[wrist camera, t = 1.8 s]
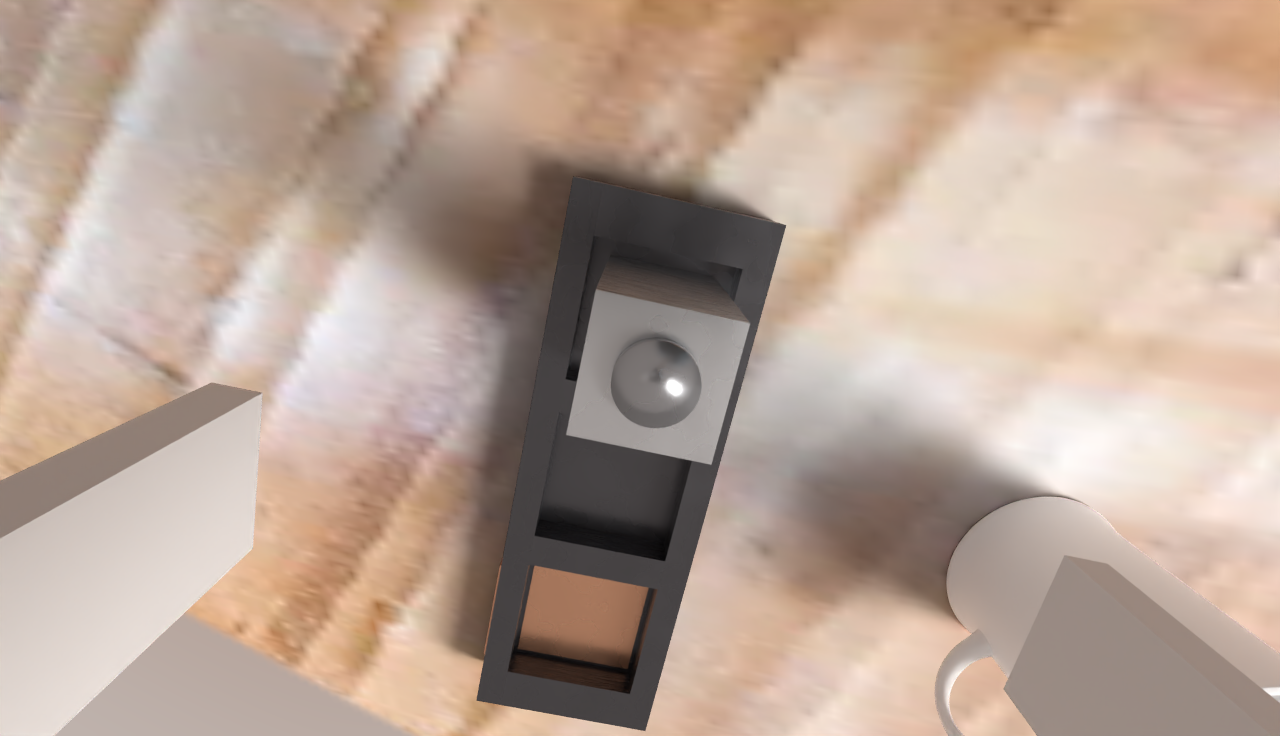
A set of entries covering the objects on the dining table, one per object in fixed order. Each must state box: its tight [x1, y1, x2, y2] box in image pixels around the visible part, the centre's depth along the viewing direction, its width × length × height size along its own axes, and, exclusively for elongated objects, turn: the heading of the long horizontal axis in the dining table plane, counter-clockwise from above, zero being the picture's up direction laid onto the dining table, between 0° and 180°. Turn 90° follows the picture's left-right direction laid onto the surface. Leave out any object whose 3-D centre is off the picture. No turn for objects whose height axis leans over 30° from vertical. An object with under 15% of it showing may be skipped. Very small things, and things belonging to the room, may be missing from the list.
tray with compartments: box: [477, 176, 786, 731], centre depth 29 cm, size 25×8×2 cm, turn 167°
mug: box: [935, 497, 1280, 736], centre depth 26 cm, size 12×8×12 cm
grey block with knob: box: [566, 255, 750, 465], centre depth 23 cm, size 4×4×10 cm
